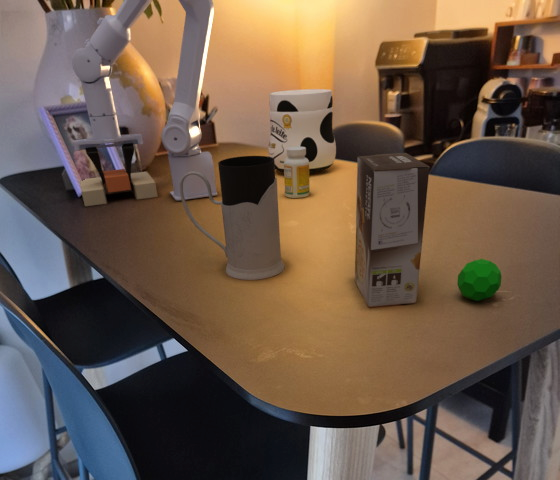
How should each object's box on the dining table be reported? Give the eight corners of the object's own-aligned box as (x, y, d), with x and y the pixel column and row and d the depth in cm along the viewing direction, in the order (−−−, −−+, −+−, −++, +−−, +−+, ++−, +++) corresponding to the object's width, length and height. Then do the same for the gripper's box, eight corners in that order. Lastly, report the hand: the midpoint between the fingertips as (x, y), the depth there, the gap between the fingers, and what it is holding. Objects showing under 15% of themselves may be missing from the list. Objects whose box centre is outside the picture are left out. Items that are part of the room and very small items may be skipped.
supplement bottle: (282, 198, 110) (280, 150, 105) (287, 192, 114) (285, 146, 109) (307, 198, 109) (306, 150, 104) (311, 192, 113) (310, 145, 108)
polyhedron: (504, 305, 62) (512, 267, 59) (464, 308, 61) (470, 270, 59) (487, 288, 66) (493, 252, 63) (449, 291, 66) (454, 255, 63)
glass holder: (278, 280, 72) (272, 167, 64) (182, 278, 74) (164, 169, 66) (288, 258, 79) (284, 154, 71) (200, 257, 81) (186, 156, 73)
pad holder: (149, 185, 128) (146, 171, 127) (157, 196, 117) (155, 182, 115) (82, 193, 124) (79, 179, 122) (85, 206, 113) (81, 191, 111)
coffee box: (418, 303, 63) (432, 165, 54) (367, 308, 63) (373, 170, 54) (397, 276, 71) (407, 151, 62) (352, 279, 71) (355, 155, 62)
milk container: (256, 174, 132) (250, 95, 123) (293, 161, 144) (290, 88, 134) (313, 180, 124) (312, 95, 114) (347, 166, 135) (349, 88, 126)
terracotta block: (127, 183, 121) (124, 168, 120) (131, 189, 115) (128, 175, 113) (105, 185, 120) (102, 171, 118) (108, 192, 114) (104, 177, 112)
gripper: (67, 120, 104) (84, 189, 112) (139, 113, 108) (151, 180, 116) (66, 116, 110) (83, 182, 117) (135, 110, 114) (146, 175, 121)
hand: (116, 181), depth 117 cm, fingers closed on terracotta block, 5 cm apart
